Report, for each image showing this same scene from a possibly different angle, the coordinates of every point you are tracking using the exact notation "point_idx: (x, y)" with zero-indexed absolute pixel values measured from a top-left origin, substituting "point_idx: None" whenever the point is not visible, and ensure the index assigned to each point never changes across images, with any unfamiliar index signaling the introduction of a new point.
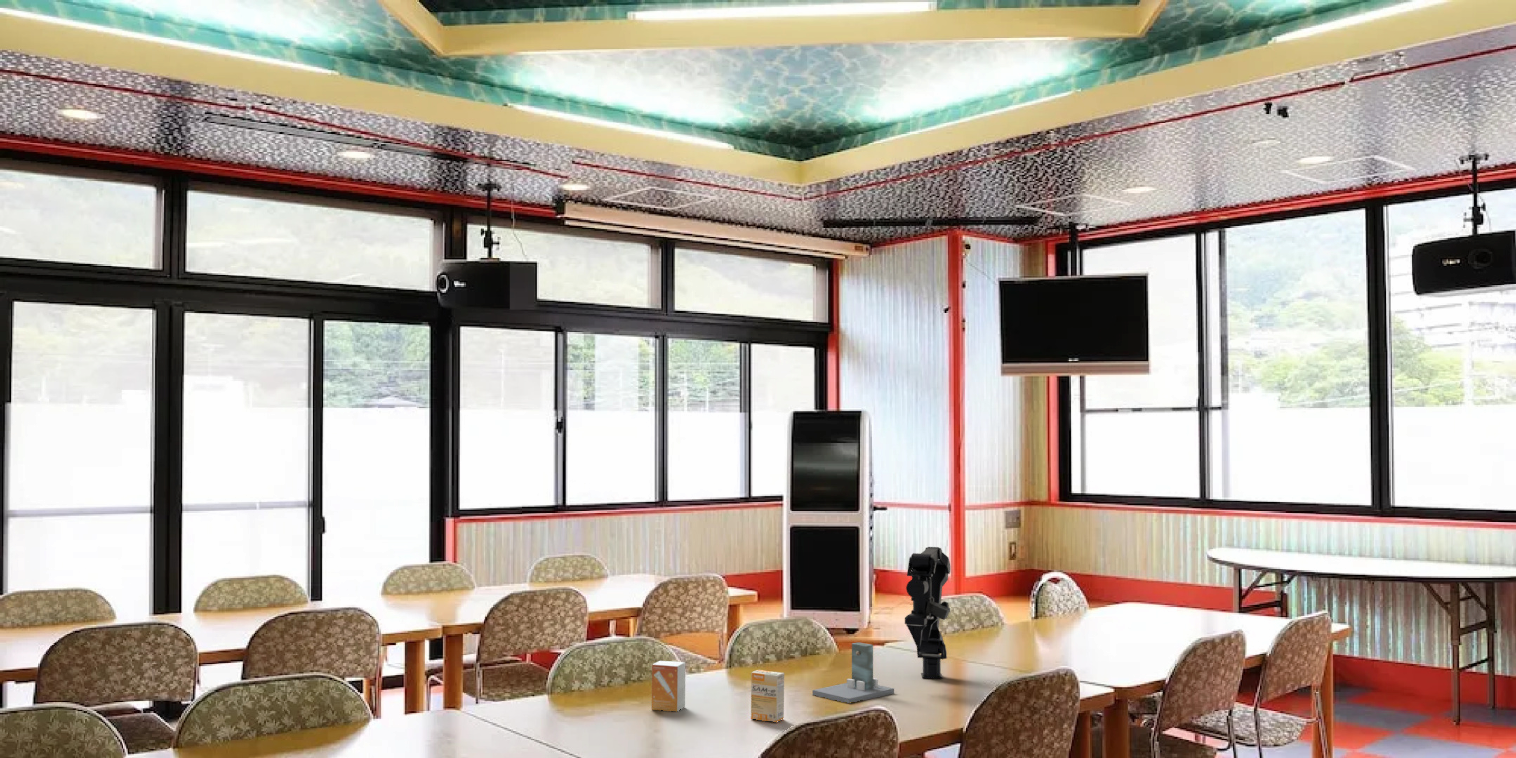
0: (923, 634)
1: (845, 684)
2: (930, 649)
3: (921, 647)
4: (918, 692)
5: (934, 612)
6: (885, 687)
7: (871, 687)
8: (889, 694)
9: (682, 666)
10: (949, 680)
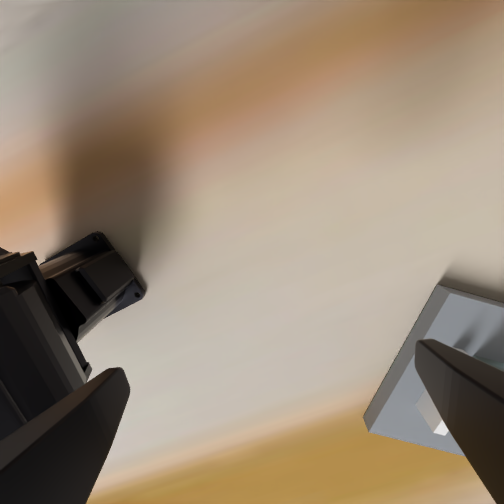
0: (89, 474)
1: (444, 439)
2: (53, 334)
3: (75, 389)
4: (380, 214)
5: None
6: (443, 325)
7: (484, 360)
8: (462, 291)
9: None
10: (103, 196)
